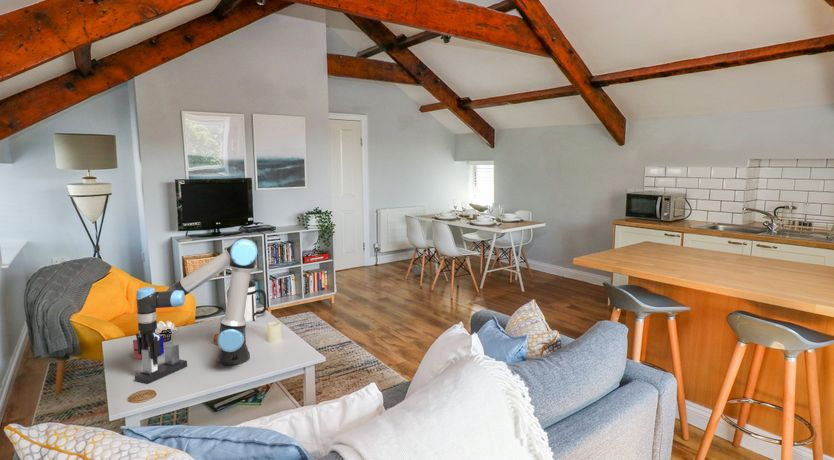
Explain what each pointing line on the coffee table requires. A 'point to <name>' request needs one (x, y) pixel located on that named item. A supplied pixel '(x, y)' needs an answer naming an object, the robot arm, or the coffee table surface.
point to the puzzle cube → (138, 356)
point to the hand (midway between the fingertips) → (150, 370)
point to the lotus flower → (165, 326)
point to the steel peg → (147, 362)
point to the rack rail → (160, 372)
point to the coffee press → (253, 303)
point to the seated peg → (171, 354)
